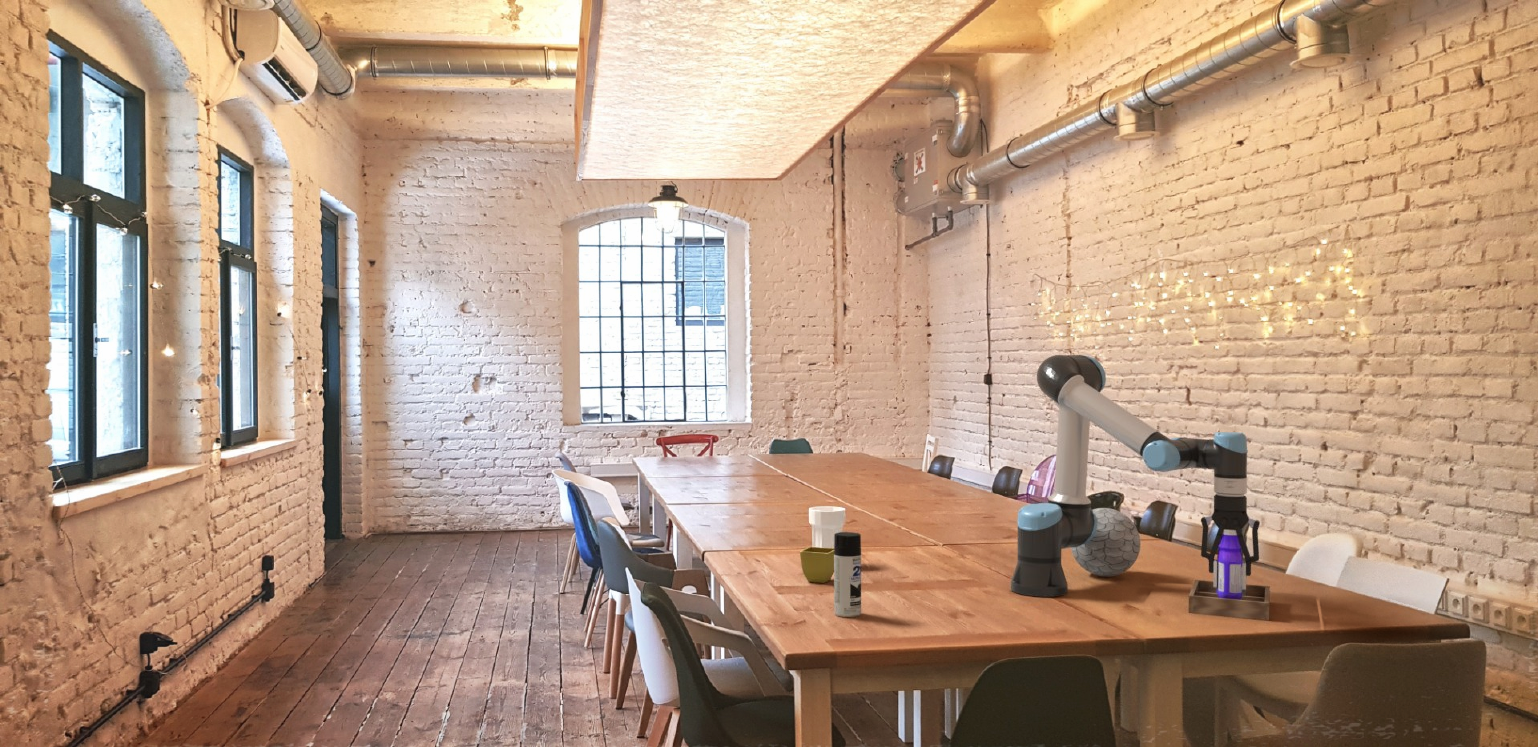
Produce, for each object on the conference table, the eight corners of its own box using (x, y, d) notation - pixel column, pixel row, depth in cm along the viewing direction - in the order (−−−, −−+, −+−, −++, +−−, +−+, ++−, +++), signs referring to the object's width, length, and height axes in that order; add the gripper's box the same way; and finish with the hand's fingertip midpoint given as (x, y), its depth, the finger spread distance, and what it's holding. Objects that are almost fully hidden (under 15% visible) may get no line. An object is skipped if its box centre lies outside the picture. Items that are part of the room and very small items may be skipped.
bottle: (1245, 602, 261) (1245, 531, 261) (1220, 601, 262) (1221, 530, 262) (1238, 596, 268) (1239, 527, 268) (1214, 594, 269) (1215, 526, 269)
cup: (846, 568, 321) (846, 511, 321) (808, 568, 322) (809, 511, 321) (844, 561, 333) (844, 506, 333) (808, 561, 333) (808, 505, 333)
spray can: (853, 618, 259) (853, 536, 258) (828, 615, 262) (829, 534, 262) (865, 613, 264) (866, 533, 264) (841, 610, 268) (842, 530, 268)
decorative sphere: (1114, 585, 299) (1115, 514, 299) (1055, 574, 314) (1056, 507, 314) (1153, 577, 311) (1154, 509, 311) (1095, 566, 327) (1095, 501, 327)
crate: (1188, 615, 264) (1188, 595, 264) (1194, 598, 284) (1195, 579, 284) (1268, 623, 256) (1269, 603, 256) (1269, 605, 276) (1269, 586, 276)
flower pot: (798, 582, 301) (799, 550, 301) (809, 577, 309) (809, 546, 309) (828, 585, 298) (828, 553, 298) (838, 579, 306) (838, 548, 306)
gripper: (1188, 493, 266) (1187, 586, 266) (1272, 498, 258) (1271, 593, 258) (1190, 490, 273) (1190, 581, 273) (1272, 494, 264) (1271, 588, 265)
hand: (1229, 587), depth 265 cm, fingers closed on bottle, 6 cm apart
